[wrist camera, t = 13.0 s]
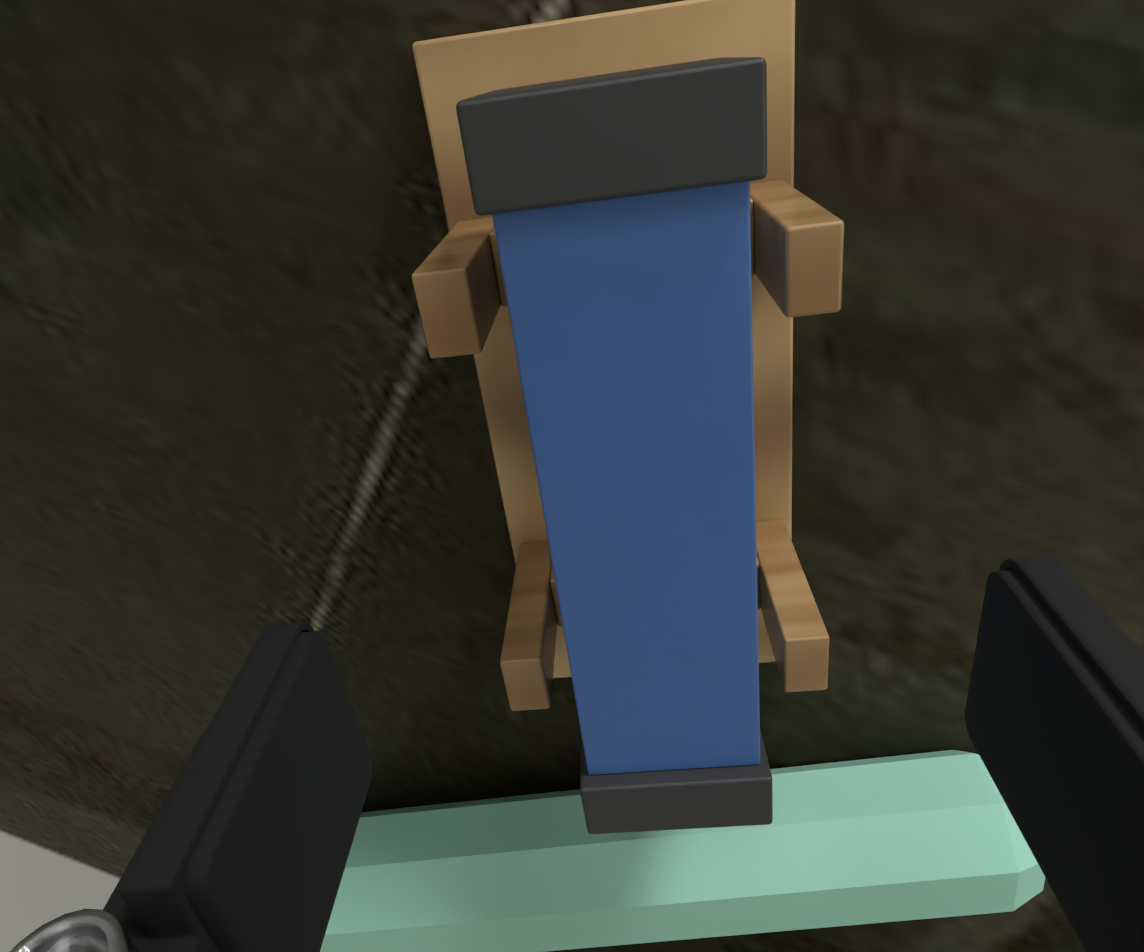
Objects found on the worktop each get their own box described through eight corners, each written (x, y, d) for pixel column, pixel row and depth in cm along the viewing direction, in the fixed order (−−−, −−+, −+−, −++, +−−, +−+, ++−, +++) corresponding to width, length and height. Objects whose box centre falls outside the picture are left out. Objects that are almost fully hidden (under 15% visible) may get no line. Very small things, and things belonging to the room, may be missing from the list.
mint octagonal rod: (1111, 904, 21) (246, 978, 23) (1044, 939, 26) (326, 997, 28) (1020, 698, 25) (282, 780, 27) (976, 759, 29) (347, 825, 32)
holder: (419, 43, 17) (339, 36, 12) (785, -13, 16) (874, -47, 11) (540, 659, 26) (524, 816, 20) (784, 640, 25) (834, 797, 20)
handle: (492, 90, 15) (453, 101, 11) (722, 56, 14) (767, 56, 11) (589, 701, 22) (587, 836, 18) (743, 690, 22) (773, 826, 18)
